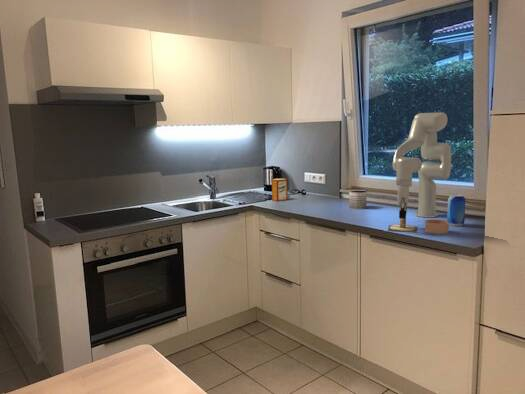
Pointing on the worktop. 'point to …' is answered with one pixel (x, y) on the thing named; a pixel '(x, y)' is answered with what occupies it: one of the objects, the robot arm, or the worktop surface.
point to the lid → (403, 226)
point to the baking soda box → (279, 190)
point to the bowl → (436, 226)
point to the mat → (401, 231)
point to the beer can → (456, 210)
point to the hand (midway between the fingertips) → (402, 216)
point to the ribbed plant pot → (357, 199)
